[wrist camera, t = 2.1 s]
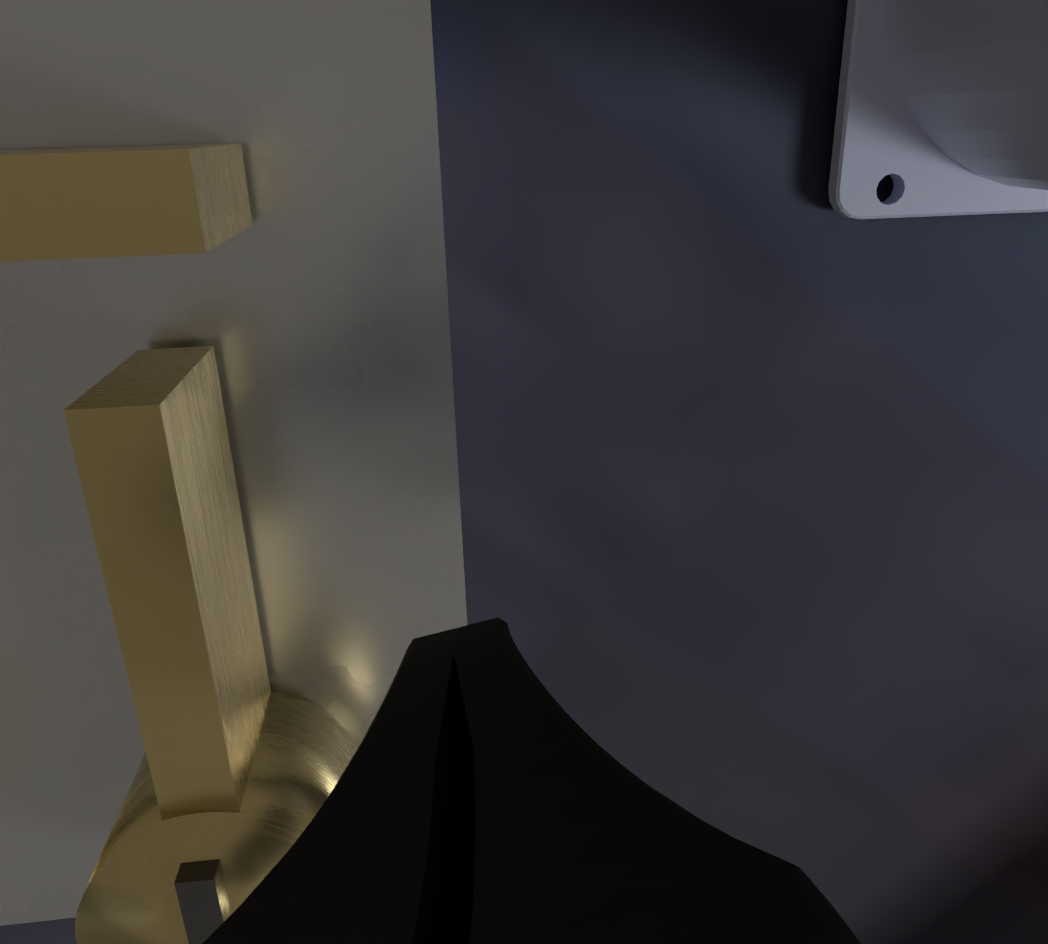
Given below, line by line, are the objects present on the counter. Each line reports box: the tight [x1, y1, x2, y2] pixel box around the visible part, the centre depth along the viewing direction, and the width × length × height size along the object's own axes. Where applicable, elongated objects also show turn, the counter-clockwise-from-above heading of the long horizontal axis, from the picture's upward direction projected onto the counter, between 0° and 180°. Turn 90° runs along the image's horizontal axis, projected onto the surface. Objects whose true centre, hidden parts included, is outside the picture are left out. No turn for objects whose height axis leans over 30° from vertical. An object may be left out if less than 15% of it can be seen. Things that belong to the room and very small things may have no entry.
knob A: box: [63, 346, 358, 944], centre depth 14 cm, size 11×4×4 cm, turn 1°
